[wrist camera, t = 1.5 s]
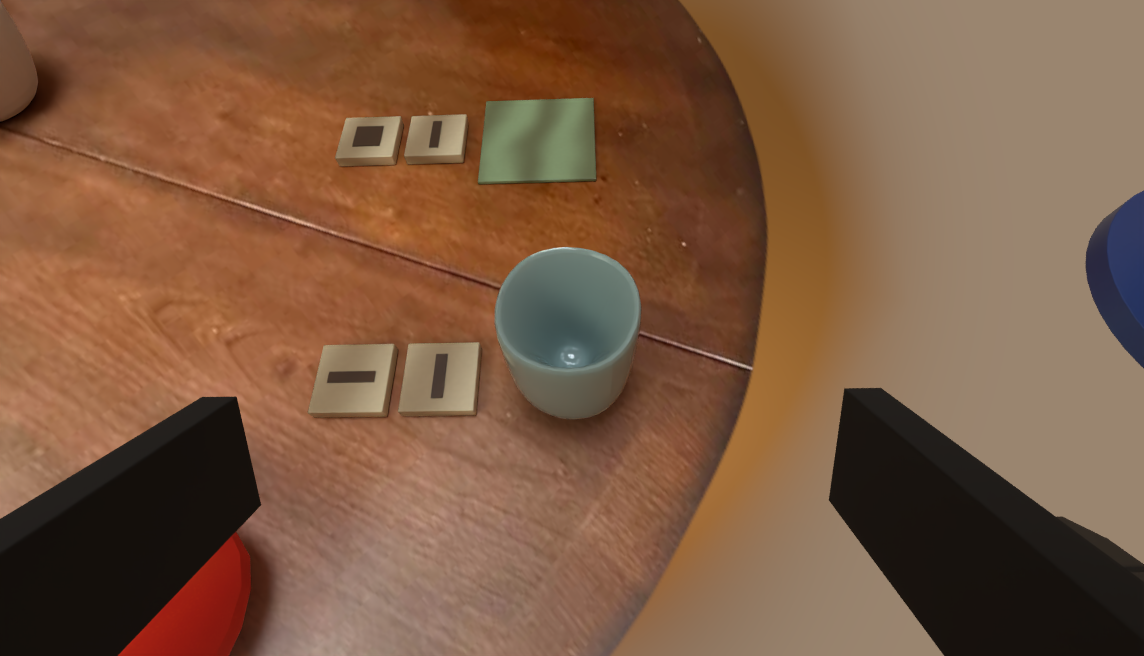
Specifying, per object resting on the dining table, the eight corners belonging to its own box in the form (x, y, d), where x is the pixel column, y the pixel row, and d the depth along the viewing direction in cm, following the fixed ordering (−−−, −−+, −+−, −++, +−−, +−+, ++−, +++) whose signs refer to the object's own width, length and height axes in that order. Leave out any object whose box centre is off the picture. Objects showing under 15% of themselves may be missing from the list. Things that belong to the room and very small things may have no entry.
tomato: (310, 664, 29) (210, 684, 21) (68, 807, 26) (-144, 888, 19) (256, 461, 34) (160, 421, 27) (50, 565, 32) (-119, 552, 24)
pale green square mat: (593, 100, 49) (593, 90, 48) (595, 181, 44) (596, 171, 43) (355, 108, 50) (350, 97, 49) (333, 188, 45) (327, 178, 44)
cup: (637, 337, 37) (651, 254, 29) (621, 444, 34) (632, 386, 25) (530, 321, 38) (512, 236, 29) (504, 423, 35) (475, 361, 26)
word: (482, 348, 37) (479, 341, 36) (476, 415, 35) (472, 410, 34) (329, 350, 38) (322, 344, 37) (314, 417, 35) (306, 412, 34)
